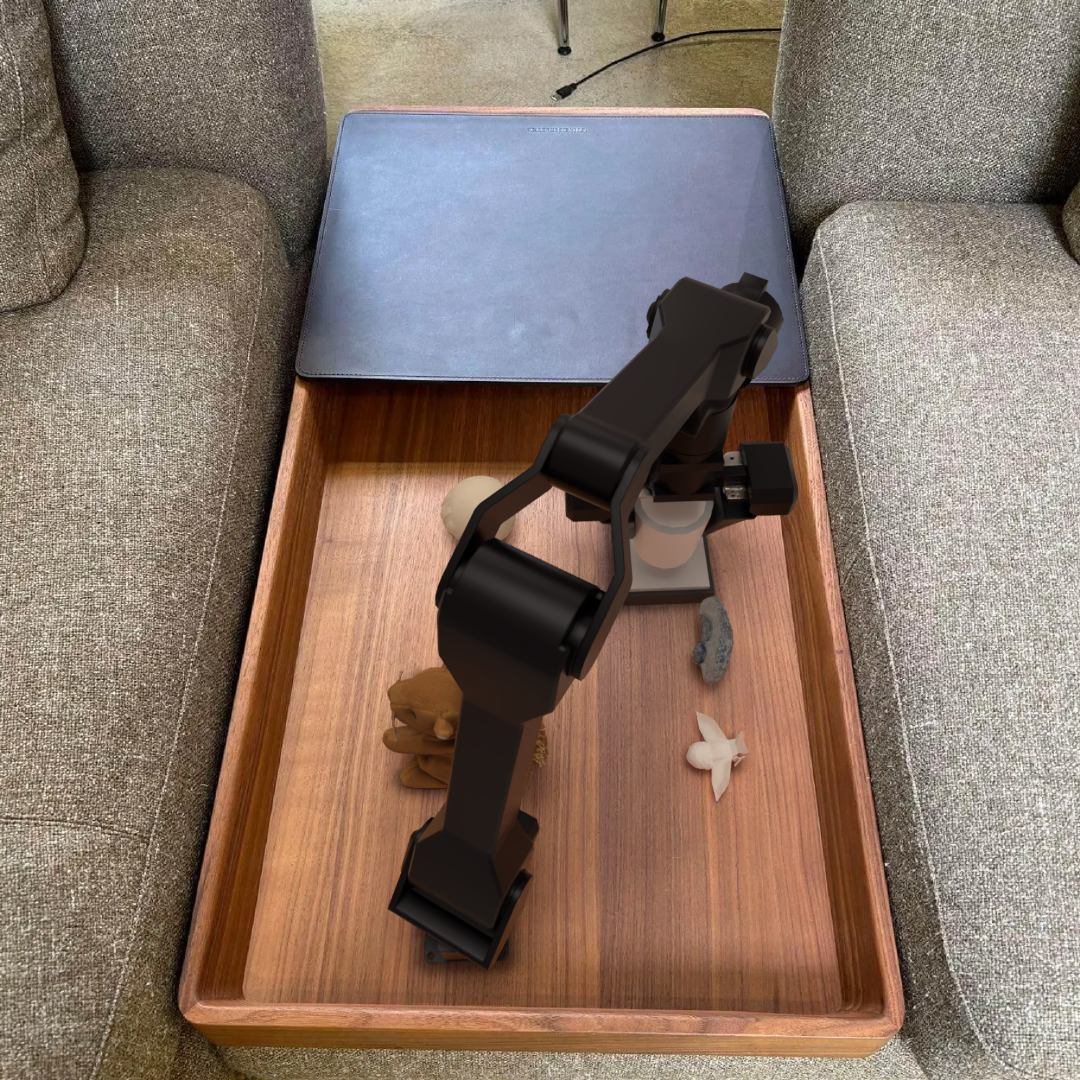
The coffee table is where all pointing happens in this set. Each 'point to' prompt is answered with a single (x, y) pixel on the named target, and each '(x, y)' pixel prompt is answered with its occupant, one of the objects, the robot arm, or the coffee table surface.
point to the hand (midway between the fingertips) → (666, 533)
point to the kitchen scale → (671, 579)
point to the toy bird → (715, 752)
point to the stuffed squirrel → (432, 727)
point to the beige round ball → (470, 504)
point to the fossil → (713, 640)
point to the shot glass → (669, 530)
